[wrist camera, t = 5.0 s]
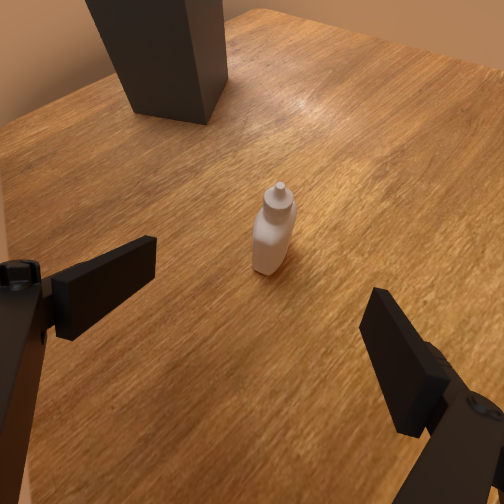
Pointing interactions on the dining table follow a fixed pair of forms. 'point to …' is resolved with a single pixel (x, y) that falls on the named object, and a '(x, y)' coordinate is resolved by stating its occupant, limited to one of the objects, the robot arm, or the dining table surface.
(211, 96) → the pedestal
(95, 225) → the dining table surface
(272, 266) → the eye dropper bottle
